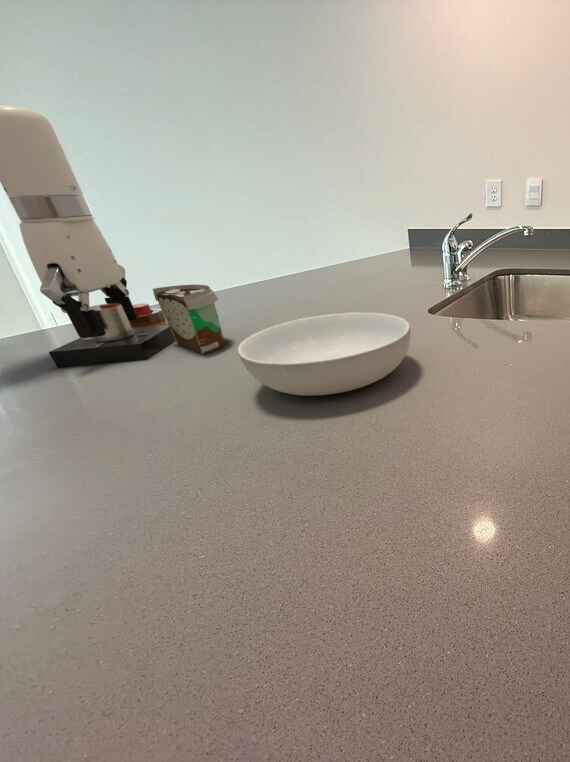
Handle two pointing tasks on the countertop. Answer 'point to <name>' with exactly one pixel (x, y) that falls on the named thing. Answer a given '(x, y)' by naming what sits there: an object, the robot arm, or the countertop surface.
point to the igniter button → (142, 309)
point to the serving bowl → (326, 352)
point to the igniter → (150, 319)
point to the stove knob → (112, 322)
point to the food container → (191, 316)
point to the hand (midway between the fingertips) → (110, 327)
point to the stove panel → (114, 348)
